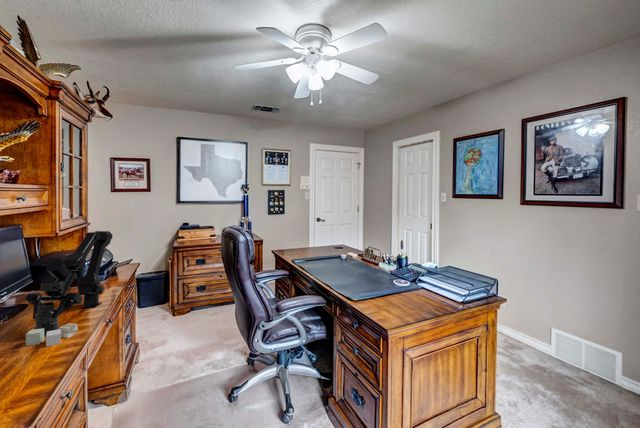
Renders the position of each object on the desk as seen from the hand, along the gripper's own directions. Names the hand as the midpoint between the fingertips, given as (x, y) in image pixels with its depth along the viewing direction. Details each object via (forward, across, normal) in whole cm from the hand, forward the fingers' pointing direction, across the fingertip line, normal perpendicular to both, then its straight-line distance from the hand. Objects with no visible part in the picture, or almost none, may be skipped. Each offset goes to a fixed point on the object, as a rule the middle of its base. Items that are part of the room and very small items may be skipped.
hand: (44, 318), depth 118 cm
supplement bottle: (+4, 0, +6) cm, 7 cm away
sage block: (+10, +2, 0) cm, 10 cm away
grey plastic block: (+10, +8, 0) cm, 13 cm away
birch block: (+6, +9, +4) cm, 12 cm away
